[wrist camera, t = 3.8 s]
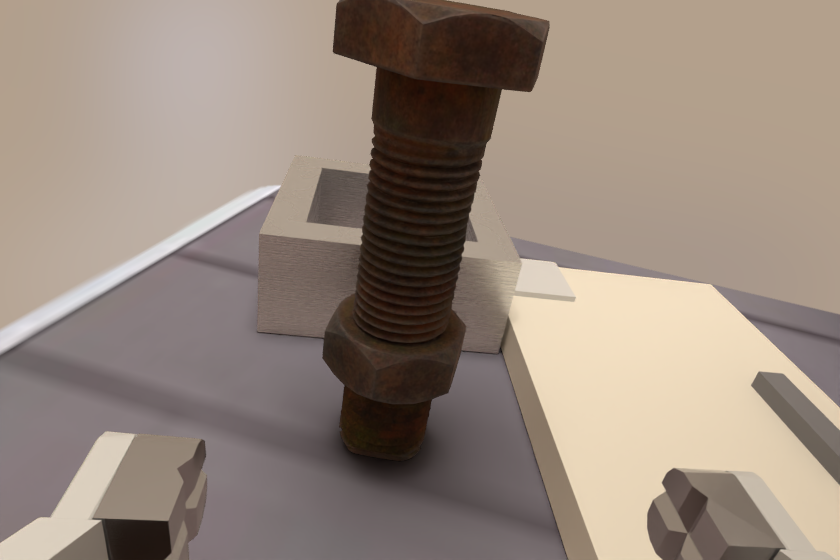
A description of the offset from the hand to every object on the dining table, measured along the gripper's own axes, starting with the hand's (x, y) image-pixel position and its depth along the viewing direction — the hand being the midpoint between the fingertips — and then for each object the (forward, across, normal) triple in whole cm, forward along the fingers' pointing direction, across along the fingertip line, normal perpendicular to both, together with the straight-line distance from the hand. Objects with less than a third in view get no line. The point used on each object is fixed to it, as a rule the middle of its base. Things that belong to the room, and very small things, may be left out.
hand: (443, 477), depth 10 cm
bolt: (+9, 0, +8) cm, 12 cm away
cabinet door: (+11, -13, +8) cm, 19 cm away
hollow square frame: (+21, 0, +8) cm, 22 cm away
